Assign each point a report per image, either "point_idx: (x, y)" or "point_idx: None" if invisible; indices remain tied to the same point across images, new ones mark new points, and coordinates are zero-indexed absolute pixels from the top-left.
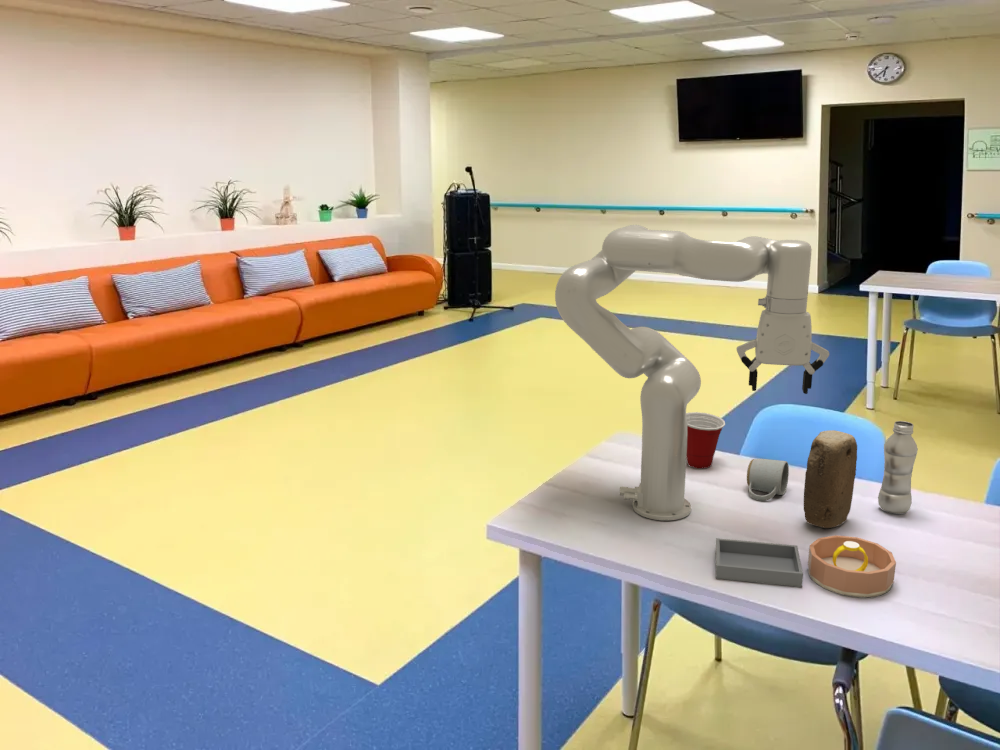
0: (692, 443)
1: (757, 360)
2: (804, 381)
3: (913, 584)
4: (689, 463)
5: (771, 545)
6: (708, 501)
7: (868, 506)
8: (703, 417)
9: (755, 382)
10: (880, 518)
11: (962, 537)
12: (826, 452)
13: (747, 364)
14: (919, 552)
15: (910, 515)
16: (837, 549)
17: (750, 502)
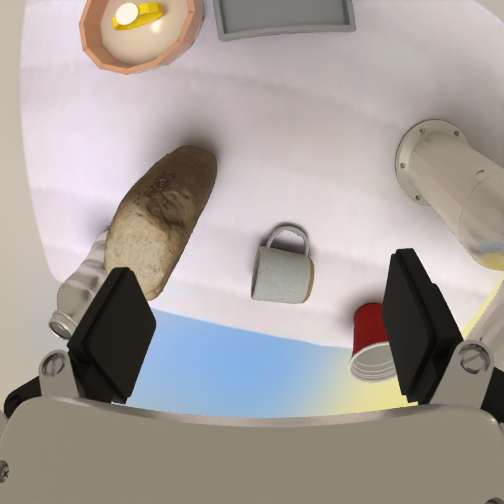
0: None
1: (490, 416)
2: (110, 320)
3: (78, 44)
4: None
5: (262, 29)
6: (367, 204)
7: None
8: (373, 376)
9: (417, 280)
10: None
11: (50, 196)
12: (142, 193)
13: (499, 383)
14: (76, 135)
15: None
16: (150, 9)
17: (304, 216)
